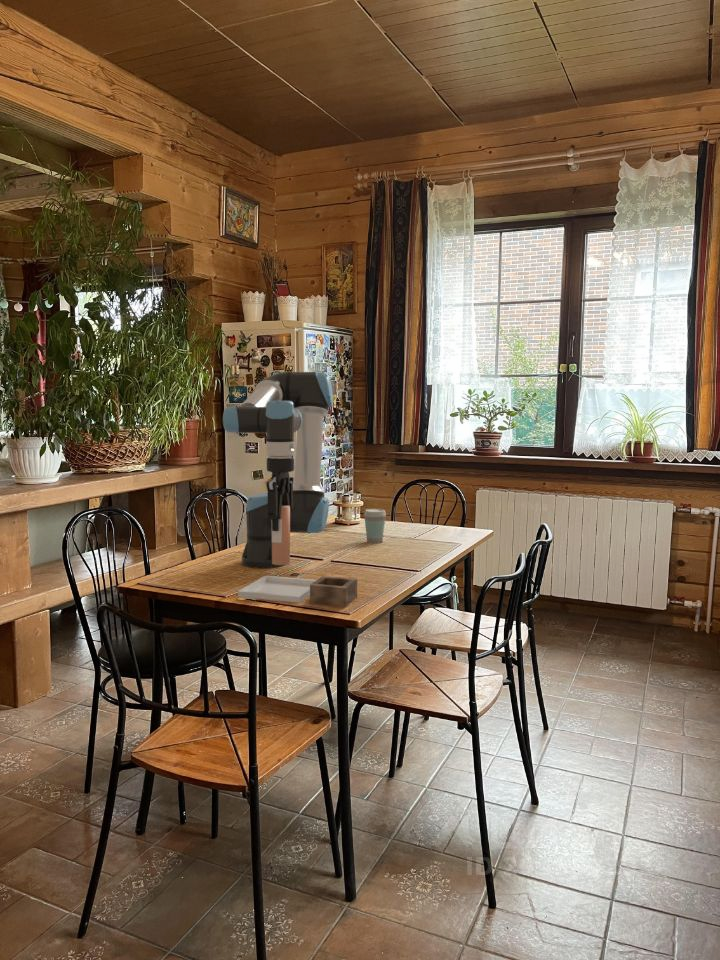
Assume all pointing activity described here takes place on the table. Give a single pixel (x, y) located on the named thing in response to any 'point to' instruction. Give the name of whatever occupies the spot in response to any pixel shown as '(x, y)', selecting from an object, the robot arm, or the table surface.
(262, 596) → the tray
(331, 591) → the socket block
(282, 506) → the peg
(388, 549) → the table surface
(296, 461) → the robot arm
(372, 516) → the coffee cup
